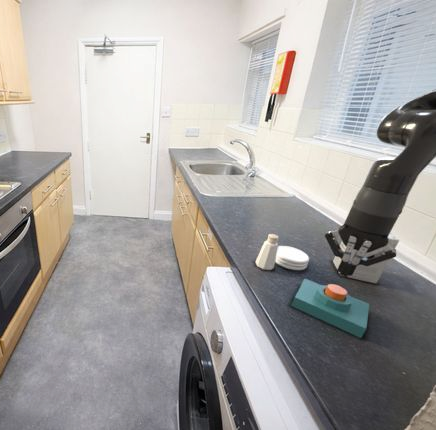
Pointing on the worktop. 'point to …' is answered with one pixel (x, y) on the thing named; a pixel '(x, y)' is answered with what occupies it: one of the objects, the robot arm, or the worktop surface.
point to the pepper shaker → (268, 253)
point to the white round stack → (291, 258)
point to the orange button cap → (335, 292)
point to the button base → (332, 308)
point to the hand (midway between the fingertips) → (343, 274)
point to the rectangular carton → (372, 271)
